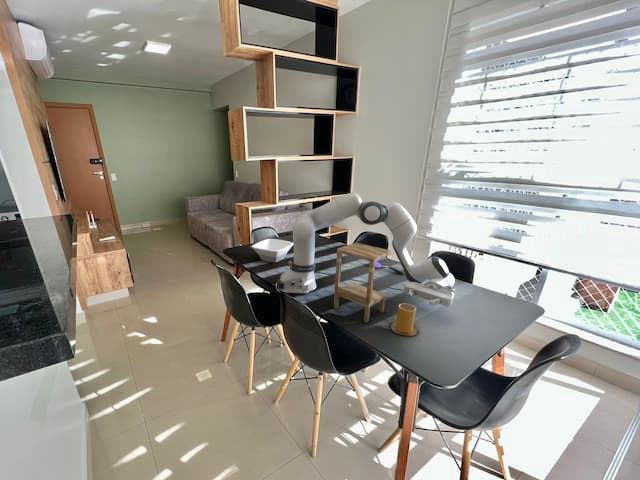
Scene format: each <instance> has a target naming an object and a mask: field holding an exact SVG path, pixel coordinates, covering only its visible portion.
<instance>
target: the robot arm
mask: <svg viewBox="0 0 640 480" xmlns="http://www.w3.org/2000/svg"><path fill="white" fill-rule="evenodd" d="M355 216H356V217H357V218H358V219H359V220H360V222H362V223H363V224H364V225H367V226H374V225H377V224H380V223H383V224H385V226H386V227H387V228H388V230H389V231H390V233H391V235H392V241H391V245H392V248H393V250H394V252H395V254H396V255H395V256H396V257H397V260H398V261H399V263H400V265H401V267H402V269H403V272H404V274H405V278H406V279H407V283H405V284H403V290H402V291H403V293H405V294H407V298H413V297H418V298H420V299H423V300H427V301H429V305H432V306H434V305H441V306H444V307H451V306H452V305H453V302H454V299H455V294H456V289H455V288H453V287H454V285H455V279H456V278H455V277H454V275H453V274H452V273H451V272H450V269H449V266H448V264H447V262H446V261H445V260H444V259H443V258H441V257H438V256H437V255H433V256H429V257H428V258H425V259H423V260H422V261H421V260H420V261H419V262H417V263H416V262H415V263H414V262H413V261H412V258H411V256H410V254H409V252H408V250H407V245H409V243H410V242H411V241H412V239H414V237H415V235H416V234H417V229H418V226H417V223H416V221H415V220H414V219H413V217H412V216H411V214H410V213H409V212H408V210H407V209H405V207H404V206H402V204H401V203H400V202H397V201H392V202H389V203H387V204H386V205H384V204H382V203H379V202H378V201H373V200H371V201H370V200H369V201H364V200H363V199H362V197H361V196H360V195H359V194H358V193H356V192H350V193H349V192H348V193H346V194H344V195H341V196H339V197H337V198H334V199H332V200H331V201H329V202H326V203H325V204H323V205H320V206H318V207H316V208H313V209H311V210H308V211H306V212H304V213H302V214H299V215H298V216H297V217H296V219H295V221H294V224H293V227H292V242H293V246H292V247H293V261H292V260H289V261H288V262H287V263H288V265H289V268H288V269H287V270H285V271H284V272H283V273H281V275H280V277H279V279H277V280H276V283H275V289H276V291H277V292H278V293H281V292H280V291H279V290H280V289H281V290H282V291H283V292H285V293H284V294H302V295H303V294H305V295H306V294H309V293H310V292H312V291H314V290H316V289H317V283H316V277H315V273H316V262H315V251H316V250H315V249H316V248H315V245H316V242H315V241H316V232H317V231H319V230H322V229H326V228H330V227H332V226H334V225H337V224H338V223H340V222H342V221H344V220H347V219H349V218H350V217H355ZM422 283H424V284H422Z"/></svg>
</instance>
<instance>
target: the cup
mask: <svg viewBox="0 0 640 480" xmlns="http://www.w3.org/2000/svg"><path fill="white" fill-rule="evenodd" d="M416 314H417V306H415V305H413V304H411V303H405V302H404V303H403V302H402V303H399V304H398V307H397V314H396V321H395V322H396V326H395V327H396V329H397V330H398V331H400V332H404V333H410V332H412V330H413V326H415V325H414V324H415V320H416Z"/></svg>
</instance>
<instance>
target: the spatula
mask: <svg viewBox="0 0 640 480" xmlns="http://www.w3.org/2000/svg"><path fill="white" fill-rule="evenodd" d="M368 264H370V261H368ZM377 268H378V269H379V268H388V269H389V270H391V271H393V272H395V273H397V274H400V275H404V274H405V272H404V271H402V270H400V269H397V268H395V267H392V266H388V265H383V264H381V263H379V262H378V260H377V261H376V262H375V269H377Z"/></svg>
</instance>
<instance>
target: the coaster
mask: <svg viewBox="0 0 640 480" xmlns="http://www.w3.org/2000/svg"><path fill="white" fill-rule="evenodd" d="M395 326H396V321H395V322H392V323H391V325H390V330H391V331H392V332H393V333H395V334H397V335H399V336H403V337H413V336H416V335H417V333H418V329H417V328H416V327H415V325H413V330H412V332H410V333H404V332H400V331H398V330H397V329H396V327H395Z"/></svg>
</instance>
